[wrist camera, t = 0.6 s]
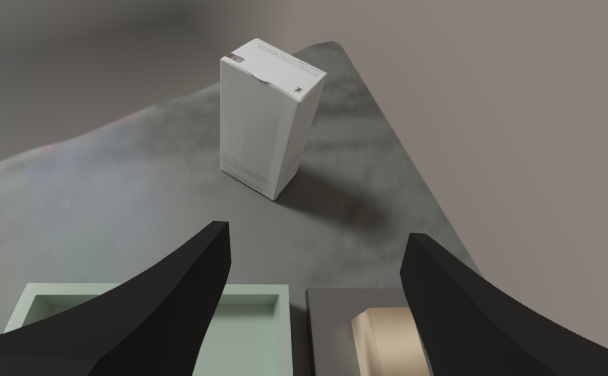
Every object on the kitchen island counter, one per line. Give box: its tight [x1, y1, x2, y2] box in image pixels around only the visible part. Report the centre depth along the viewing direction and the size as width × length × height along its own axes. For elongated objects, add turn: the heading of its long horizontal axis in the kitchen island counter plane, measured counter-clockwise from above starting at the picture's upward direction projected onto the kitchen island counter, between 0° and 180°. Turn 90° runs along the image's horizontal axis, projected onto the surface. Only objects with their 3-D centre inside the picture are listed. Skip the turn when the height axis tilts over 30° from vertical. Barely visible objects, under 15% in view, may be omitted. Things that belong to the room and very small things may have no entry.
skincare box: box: [220, 38, 327, 201], centre depth 32 cm, size 8×6×15 cm
